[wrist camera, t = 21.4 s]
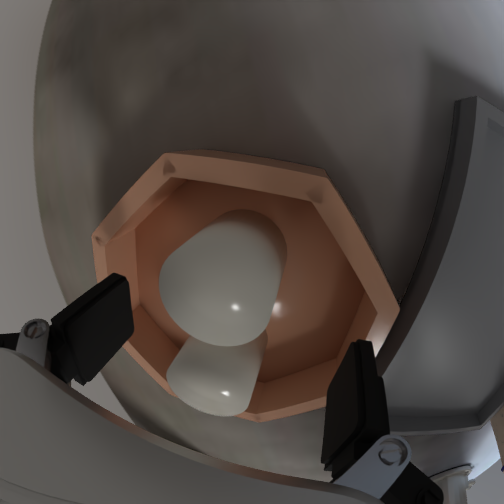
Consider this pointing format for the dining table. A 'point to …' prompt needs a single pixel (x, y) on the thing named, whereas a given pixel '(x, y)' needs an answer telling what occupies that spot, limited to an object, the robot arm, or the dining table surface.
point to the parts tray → (454, 293)
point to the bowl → (293, 279)
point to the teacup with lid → (499, 432)
